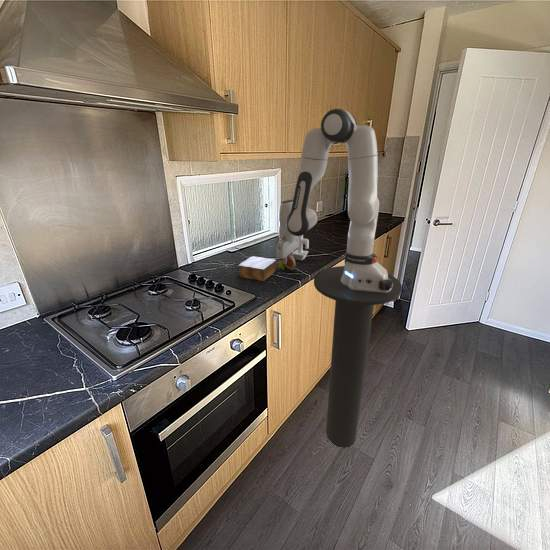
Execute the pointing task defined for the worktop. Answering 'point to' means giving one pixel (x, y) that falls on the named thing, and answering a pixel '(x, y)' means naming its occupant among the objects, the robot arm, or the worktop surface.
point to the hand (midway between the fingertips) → (287, 261)
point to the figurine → (301, 249)
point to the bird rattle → (290, 263)
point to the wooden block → (257, 268)
